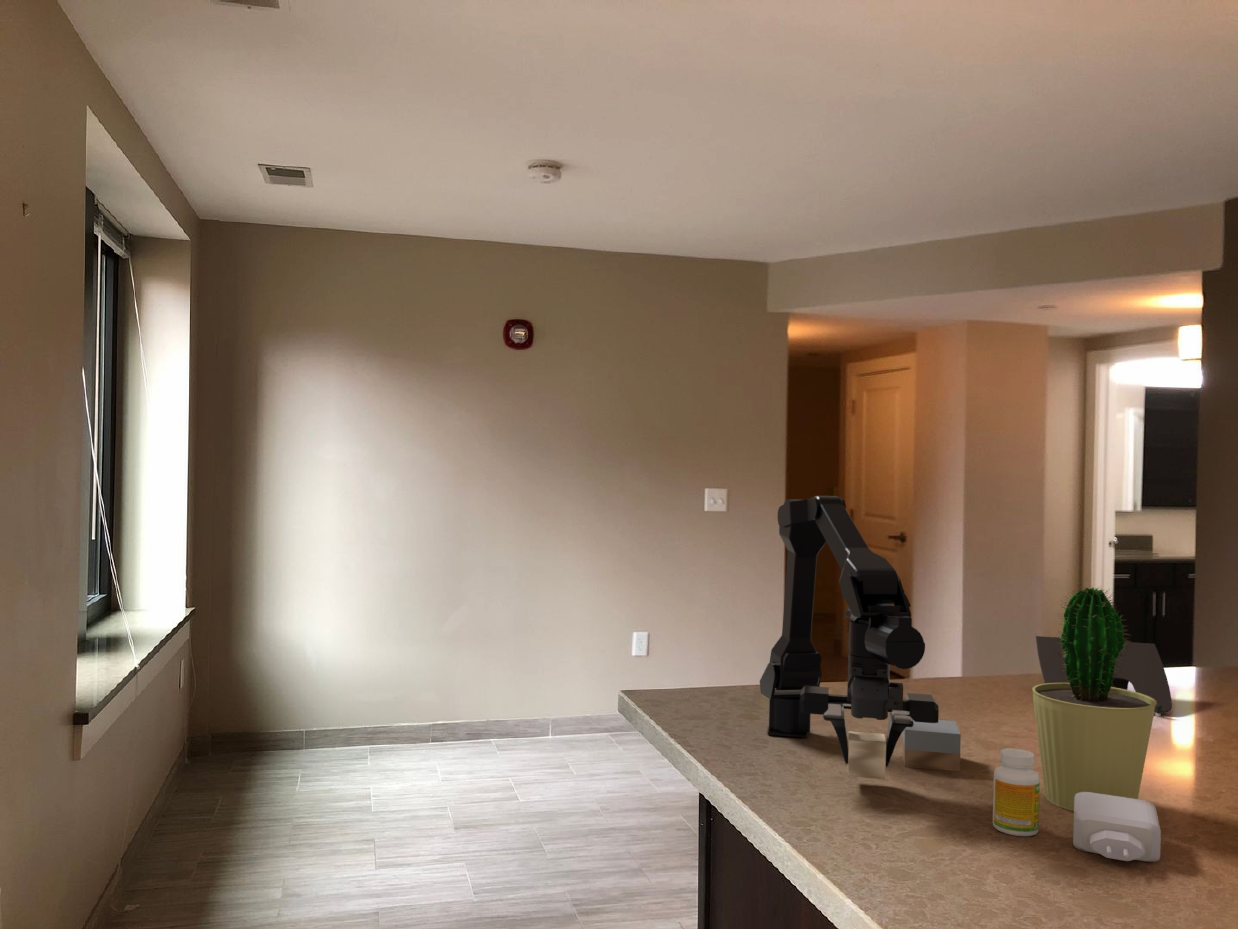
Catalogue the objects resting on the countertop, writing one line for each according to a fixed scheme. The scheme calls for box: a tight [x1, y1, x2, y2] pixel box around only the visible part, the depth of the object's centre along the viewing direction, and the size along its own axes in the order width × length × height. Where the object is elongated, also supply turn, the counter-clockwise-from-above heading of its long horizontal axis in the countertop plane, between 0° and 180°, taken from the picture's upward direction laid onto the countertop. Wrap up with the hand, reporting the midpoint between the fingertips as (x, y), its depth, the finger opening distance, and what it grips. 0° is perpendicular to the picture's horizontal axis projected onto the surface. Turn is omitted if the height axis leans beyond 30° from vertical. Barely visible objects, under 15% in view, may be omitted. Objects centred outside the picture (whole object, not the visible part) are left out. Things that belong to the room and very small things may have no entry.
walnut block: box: [901, 736, 961, 772], centre depth 155 cm, size 8×8×3 cm
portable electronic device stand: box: [1035, 635, 1173, 717], centre depth 201 cm, size 23×23×9 cm
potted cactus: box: [1031, 583, 1157, 812], centre depth 138 cm, size 15×15×30 cm
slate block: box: [901, 719, 962, 755], centre depth 155 cm, size 8×8×3 cm
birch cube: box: [847, 730, 887, 780], centre depth 142 cm, size 5×5×5 cm
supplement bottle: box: [992, 747, 1041, 837], centre depth 127 cm, size 5×5×10 cm
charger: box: [1072, 792, 1162, 863], centre depth 120 cm, size 5×9×15 cm
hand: (866, 764), depth 142 cm, fingers closed on birch cube, 5 cm apart
